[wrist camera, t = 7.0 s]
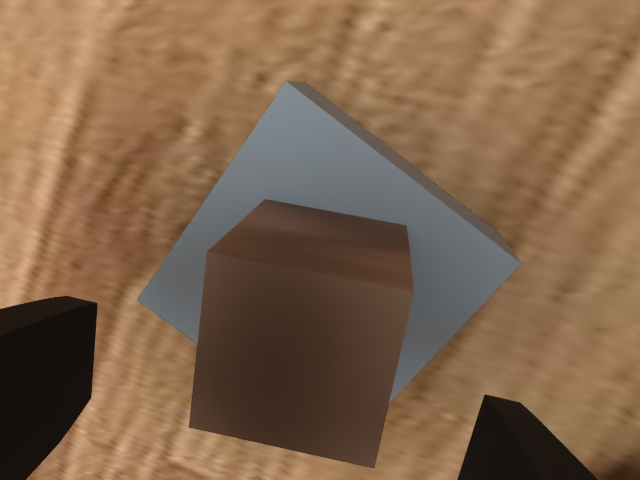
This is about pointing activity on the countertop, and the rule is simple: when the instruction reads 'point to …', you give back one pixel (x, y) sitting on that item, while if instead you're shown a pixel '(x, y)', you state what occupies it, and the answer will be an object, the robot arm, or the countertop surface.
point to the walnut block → (303, 330)
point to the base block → (348, 198)
